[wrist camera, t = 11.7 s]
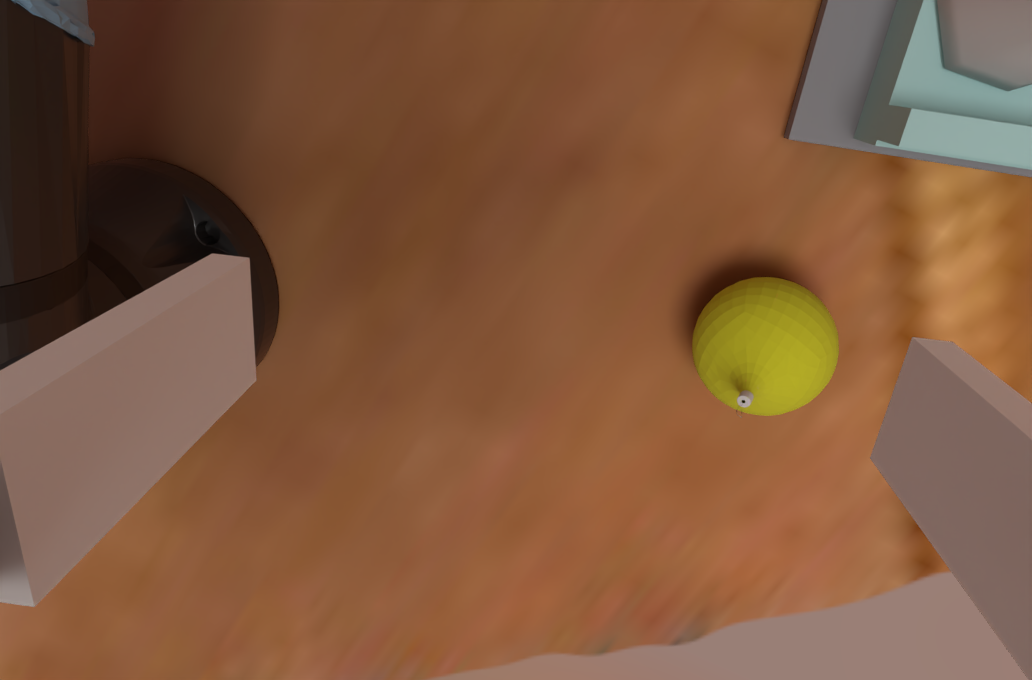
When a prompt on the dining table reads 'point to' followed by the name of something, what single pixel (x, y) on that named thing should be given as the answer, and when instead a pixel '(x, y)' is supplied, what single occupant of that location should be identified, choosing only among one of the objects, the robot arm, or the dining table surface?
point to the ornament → (765, 346)
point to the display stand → (904, 92)
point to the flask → (988, 40)
